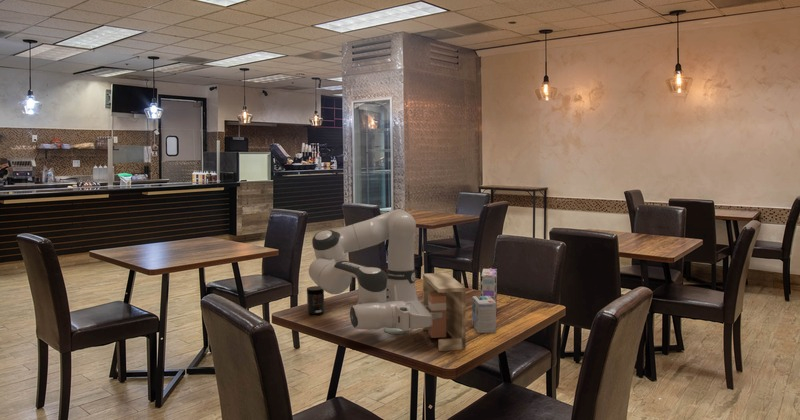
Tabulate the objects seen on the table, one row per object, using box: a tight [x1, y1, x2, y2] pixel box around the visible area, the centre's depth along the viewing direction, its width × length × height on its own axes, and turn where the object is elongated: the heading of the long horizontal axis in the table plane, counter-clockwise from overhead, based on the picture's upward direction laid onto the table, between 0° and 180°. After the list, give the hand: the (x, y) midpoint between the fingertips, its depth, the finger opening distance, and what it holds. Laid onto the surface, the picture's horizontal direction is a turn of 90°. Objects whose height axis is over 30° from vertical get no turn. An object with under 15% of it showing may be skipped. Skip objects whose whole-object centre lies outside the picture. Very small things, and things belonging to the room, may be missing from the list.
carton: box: [427, 293, 447, 339], centre depth 192 cm, size 5×5×14 cm
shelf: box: [422, 272, 467, 352], centre depth 193 cm, size 9×23×20 cm, turn 10°
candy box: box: [480, 268, 498, 310], centre depth 224 cm, size 14×6×16 cm, turn 168°
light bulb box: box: [471, 295, 497, 334], centre depth 204 cm, size 11×7×11 cm, turn 5°
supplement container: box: [306, 285, 325, 316], centre depth 225 cm, size 7×7×10 cm
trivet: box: [383, 328, 413, 335], centre depth 204 cm, size 10×10×1 cm
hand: (439, 311), depth 192 cm, fingers closed on carton, 5 cm apart
